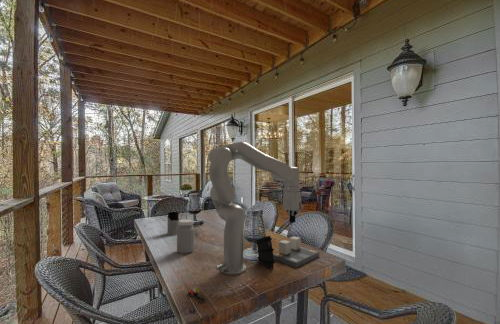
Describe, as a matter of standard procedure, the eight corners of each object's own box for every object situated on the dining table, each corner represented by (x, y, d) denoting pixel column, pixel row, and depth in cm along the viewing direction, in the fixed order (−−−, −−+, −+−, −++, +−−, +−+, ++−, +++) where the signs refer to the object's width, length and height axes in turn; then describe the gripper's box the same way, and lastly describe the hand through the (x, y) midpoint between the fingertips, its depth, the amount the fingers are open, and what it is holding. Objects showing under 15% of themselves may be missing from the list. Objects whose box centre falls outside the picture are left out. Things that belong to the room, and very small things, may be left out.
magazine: (271, 268, 119) (264, 236, 124) (259, 270, 129) (253, 241, 135) (277, 267, 120) (271, 235, 126) (265, 269, 131) (260, 240, 137)
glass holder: (166, 232, 184) (166, 212, 184) (185, 230, 190) (185, 210, 190) (167, 235, 176) (167, 214, 176) (187, 233, 182) (188, 213, 182)
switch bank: (296, 267, 124) (296, 262, 124) (273, 259, 134) (273, 254, 134) (319, 256, 139) (319, 251, 139) (296, 249, 150) (296, 245, 150)
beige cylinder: (296, 250, 140) (296, 239, 140) (289, 248, 144) (289, 237, 144) (300, 248, 144) (300, 237, 144) (294, 246, 147) (294, 236, 147)
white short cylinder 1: (285, 254, 133) (285, 243, 133) (278, 252, 136) (279, 241, 136) (290, 252, 136) (290, 241, 136) (284, 250, 140) (284, 239, 140)
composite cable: (206, 303, 93) (206, 296, 93) (193, 306, 90) (194, 300, 90) (197, 291, 101) (197, 285, 101) (185, 294, 98) (185, 288, 98)
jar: (189, 255, 140) (190, 223, 140) (173, 253, 141) (174, 222, 142) (196, 249, 149) (197, 219, 149) (181, 247, 151) (182, 218, 151)
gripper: (277, 188, 141) (277, 221, 141) (299, 190, 130) (299, 226, 130) (286, 187, 146) (286, 219, 146) (307, 189, 135) (307, 223, 135)
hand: (292, 222), depth 138 cm, fingers closed
